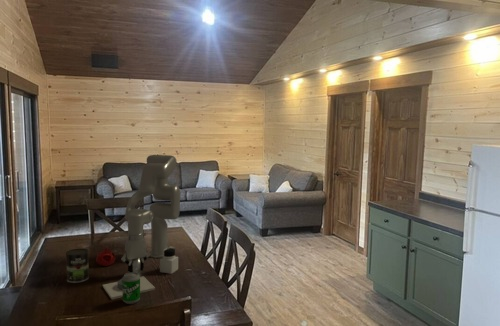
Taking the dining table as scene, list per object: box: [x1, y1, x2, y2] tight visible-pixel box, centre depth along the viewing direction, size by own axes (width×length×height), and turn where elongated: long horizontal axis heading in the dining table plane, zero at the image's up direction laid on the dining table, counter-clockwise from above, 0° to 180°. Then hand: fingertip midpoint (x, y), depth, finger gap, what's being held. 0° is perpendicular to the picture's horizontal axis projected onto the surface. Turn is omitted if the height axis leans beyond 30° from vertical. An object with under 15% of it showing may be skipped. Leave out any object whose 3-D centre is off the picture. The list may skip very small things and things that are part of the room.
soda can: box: [121, 272, 141, 305], centre depth 172 cm, size 8×8×12 cm
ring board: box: [102, 275, 156, 300], centre depth 186 cm, size 20×16×4 cm
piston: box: [131, 258, 142, 277], centre depth 202 cm, size 5×5×9 cm
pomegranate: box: [95, 247, 116, 267], centre depth 216 cm, size 10×10×9 cm
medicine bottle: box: [159, 248, 179, 275], centre depth 209 cm, size 7×7×12 cm
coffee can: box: [65, 248, 90, 284], centre depth 195 cm, size 10×10×14 cm
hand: (135, 270), depth 202 cm, fingers closed on piston, 5 cm apart
